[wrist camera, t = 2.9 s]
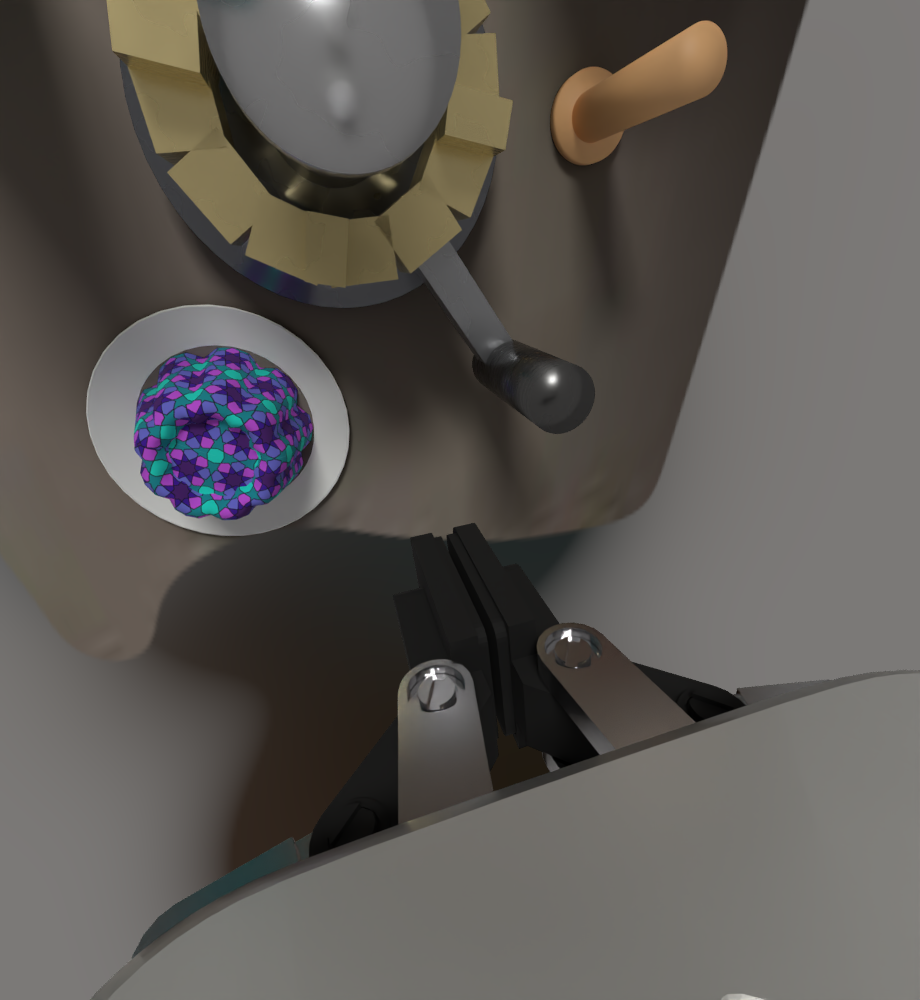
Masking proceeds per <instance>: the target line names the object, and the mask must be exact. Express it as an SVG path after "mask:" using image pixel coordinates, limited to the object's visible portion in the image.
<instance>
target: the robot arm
mask: <svg viewBox="0 0 920 1000" xmlns="http://www.w3.org/2000/svg"><path fill="white" fill-rule="evenodd" d="M410 539H411V546H412V551H413V557H414V562H415V568H416V573H417V579H418V584H419V588H418V589H414V590H410V591H406V592H402V593H398V594H394V595H393V599H394V603H395V608H396V613H397V617H398V622H399V627H400V631H401V635H402V640H403V644H404V648H405V653H406V657H407V661H408V665H409V669H410V671H409V672H408V674H406V675H405V676H404V678H403V680H402V682H401V684H400V686H399V691H398V716H397V717H396V719H395V720H394V721H393V722H392V724H391V725H390V726H389V728H388V729H387V730H386V732H385V733H384V734H383V736H382V737H381V738H380V739H379V741H378V742H377V744H376V745H375V746H374V747H373V749H372V750H371V751H370V753H369V754H368V755H367V756H366V758H365V759H364V761H363V762H362V763H361V764H360V766H359V767H358V768H357V770H356V771H355V772H354V774H353V775H352V776H351V777H350V779H349V780H348V781H347V783H346V784H345V785H344V787H343V788H342V789H341V791H340V792H339V793H338V795H337V796H336V797H335V799H334V800H333V801H332V802H331V804H330V805H329V806H328V808H327V809H326V810H325V812H324V813H323V814H322V816H321V818H320V819H319V821H318V822H317V824H316V826H315V828H314V829H313V832H312V833H311V834H309V835H307V836H306V837H304V838H302V839H300V840H299V841H297V842H294V839H293V837H291V838H289V839H288V840H286V841H284V842H283V843H281V844H279V845H277V846H275V847H274V848H272V849H270V850H268V851H267V852H265V853H263V854H261V855H260V856H258V857H256V858H255V859H253V860H251V861H249V862H248V863H246V864H244V865H242V866H241V867H239V868H237V869H235V870H234V871H232V872H230V873H229V874H227V875H225V876H223V877H221V878H220V879H218V880H216V881H215V882H213V883H211V884H209V885H208V886H206V887H204V888H202V889H201V890H199V891H197V892H196V893H194V894H192V895H190V896H188V897H187V898H185V899H183V900H182V901H180V902H178V903H176V904H175V905H173V906H172V907H171V908H170V909H168V910H167V911H166V912H164V913H163V914H162V915H160V916H159V917H158V918H157V919H156V920H155V922H154V923H153V924H152V925H151V927H150V928H149V929H148V930H147V931H146V932H145V934H144V935H143V937H142V939H141V940H140V942H139V945H138V946H137V948H136V950H135V952H134V954H133V956H132V959H131V960H130V961H129V962H128V963H127V964H126V965H125V966H124V967H122V968H121V969H120V970H119V971H118V972H117V973H116V974H115V975H114V976H113V977H112V978H111V979H110V980H108V982H107V983H105V984H104V985H103V986H102V987H101V988H100V989H99V990H98V991H97V992H96V993H95V994H94V996H93V997H92V998H91V999H90V1000H920V670H897V671H884V672H871V673H864V674H859V675H853V676H848V677H842V678H838V679H834V680H819V681H809V682H798V683H787V684H777V685H766V686H756V687H747V688H746V687H745V688H737V692H736V694H734V695H732V694H731V693H729V692H728V691H726V690H723V689H721V688H718V687H716V686H713V685H709V684H706V683H702V682H699V681H696V680H692V679H689V678H686V677H682V676H679V675H675V674H672V673H668V672H665V671H661V670H658V669H654V668H651V667H648V666H644V665H641V664H637V663H634V662H631V661H630V660H629V659H628V658H627V657H626V656H625V655H624V654H623V653H621V651H619V650H618V649H617V648H616V647H615V646H614V645H613V644H612V643H611V642H610V641H609V640H608V639H607V638H606V637H605V636H604V635H603V634H601V633H600V632H598V631H597V630H596V629H594V628H591V627H589V626H586V625H584V624H578V623H562V624H559V622H558V621H557V620H556V618H555V617H554V615H553V614H552V612H551V611H550V609H549V608H548V607H547V605H546V604H545V602H544V601H543V599H542V598H541V596H540V595H539V593H538V592H537V591H536V589H535V588H534V586H533V585H532V583H531V582H530V580H529V579H528V577H527V576H526V575H525V573H524V572H523V570H522V569H521V567H520V566H519V565H518V564H513V565H509V566H505V567H502V565H501V564H500V562H499V560H498V559H497V557H496V556H495V554H494V552H493V551H492V549H491V548H490V546H489V545H488V543H487V541H486V540H485V538H484V537H483V535H482V534H481V532H480V530H479V529H478V527H477V526H476V524H475V523H471V524H467V525H463V526H458V527H454V528H453V534H449V535H447V544H448V550H447V548H446V546H445V544H444V542H443V539H442V537H441V536H440V537H436V538H434V537H433V535H432V533H428V534H424V535H420V536H415V537H411V538H410ZM448 551H449V552H448ZM496 716H497V718H496ZM497 719H498V721H499V723H500V726H501V728H502V731H503V733H504V735H505V736H507V735H510V734H513V736H514V738H515V740H516V743H517V745H518V747H519V749H520V748H523V747H526V746H529V747H532V748H534V749H537V750H539V751H541V752H542V753H543V758H544V761H545V763H546V765H547V767H548V769H549V770H550V772H549V773H546V774H544V775H541V776H538V777H535V778H532V779H529V780H526V781H523V782H520V783H517V784H514V785H512V786H508V787H506V788H503V789H500V790H497V791H494V792H493V788H492V783H491V777H490V771H491V769H492V767H493V765H494V763H495V761H496V759H497V757H498V746H497V738H498V727H497Z"/></svg>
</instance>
